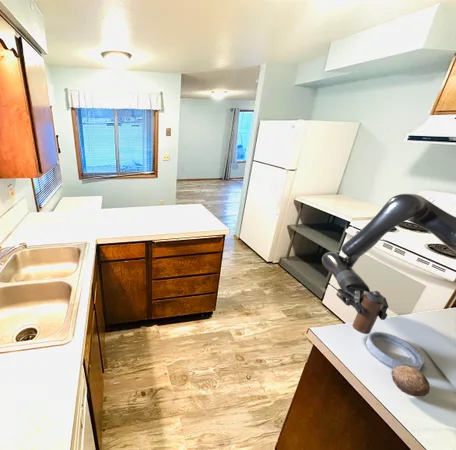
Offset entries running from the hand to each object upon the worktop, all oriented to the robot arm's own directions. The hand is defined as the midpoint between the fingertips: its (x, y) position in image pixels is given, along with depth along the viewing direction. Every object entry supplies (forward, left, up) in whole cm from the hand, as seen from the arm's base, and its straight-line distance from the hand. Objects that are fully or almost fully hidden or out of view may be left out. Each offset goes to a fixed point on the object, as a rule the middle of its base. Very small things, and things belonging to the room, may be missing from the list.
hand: (373, 315), depth 73 cm
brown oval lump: (-9, +8, -16) cm, 20 cm away
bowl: (-11, -4, -16) cm, 20 cm away
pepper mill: (0, -3, -8) cm, 8 cm away
